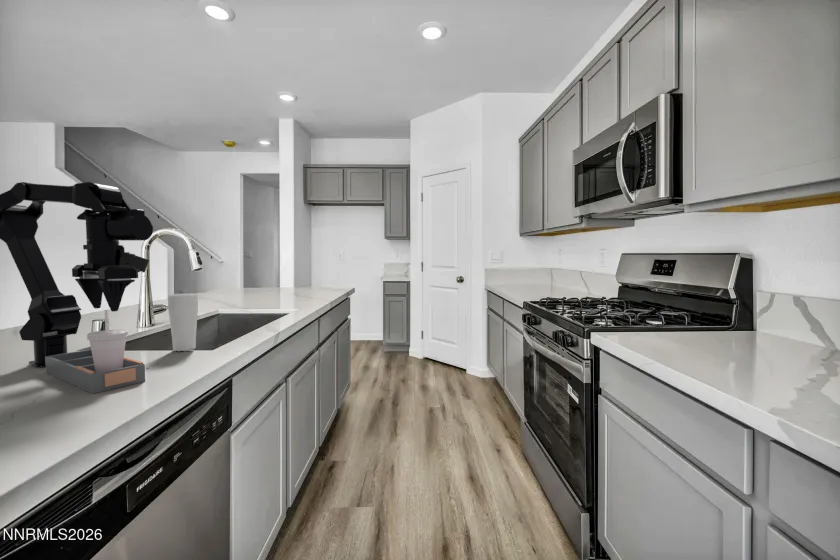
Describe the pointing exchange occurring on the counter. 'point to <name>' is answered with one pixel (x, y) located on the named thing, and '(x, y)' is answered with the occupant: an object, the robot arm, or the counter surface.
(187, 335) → the drinking glass
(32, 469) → the counter surface
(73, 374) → the bottle caddy
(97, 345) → the smoothie
